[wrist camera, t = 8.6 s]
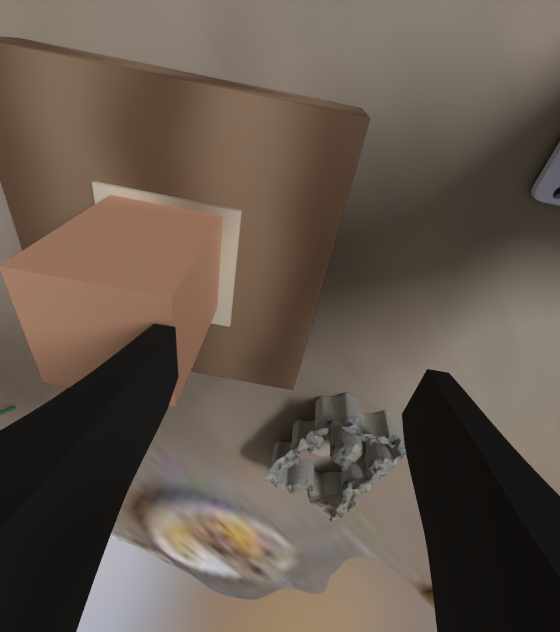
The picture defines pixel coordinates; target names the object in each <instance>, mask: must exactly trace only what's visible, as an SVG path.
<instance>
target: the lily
mask: <svg viewBox="0 0 560 632" xmlns="http://www.w3.org/2000/svg"><path fill="white" fill-rule="evenodd" d="M14 409H16V407H15V406H13V407H10V408H7V409H5V410H2V411H0V415H1V414H4V413H6V412H9V411H12V410H14Z"/></svg>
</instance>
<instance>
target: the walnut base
mask: <svg viewBox="0 0 560 632" xmlns="http://www.w3.org/2000/svg"><path fill="white" fill-rule="evenodd" d="M369 121H370V118H369V116H368V115H367V114H366V113H365V112H364V110H363V109H362V108H358V107H353V106H348V105H343V104H338V103H333V102H328V101H323V100H319V99H314V98H309V97H304V96H299V95H294V94H289V93H284V92H279V91H275V90H270V89H265V88H260V87H255V86H250V85H245V84H240V83H235V82H231V81H226V80H221V79H216V78H211V77H206V76H201V75H196V74H192V73H187V72H182V71H177V70H172V69H167V68H162V67H157V66H152V65H148V64H143V63H138V62H133V61H128V60H123V59H118V58H113V57H108V56H104V55H99V54H94V53H89V52H84V51H79V50H74V49H69V48H64V47H60V46H55V45H50V44H45V43H40V42H35V41H30V40H25V39H20V38H12V37H0V181H1V184H2V187H3V190H4V193H5V197H6V200H7V203H8V206H9V209H10V212H11V215H12V219H13V222H14V225H15V228H16V231H17V234H18V237H19V240H20V244H21V247H22V250H25V249H26V248H28V247H29V246H31V245H32V244H34V243H35V242H37V241H39V240H40V239H42V238H43V237H45V236H46V235H48V234H50V233H51V232H53V231H54V230H56V229H57V228H59V227H61V226H62V225H64V224H65V223H67V222H68V221H70V220H71V219H73V218H75V217H76V216H78V215H79V214H81V213H82V212H84V211H86V210H87V209H89V208H90V207H92V206H93V205H95V204H97V203H98V202H100V201H101V200H103V199H104V198H106V197H108V196H109V195H114V196H120V197H125V198H130V199H135V200H140V201H146V202H151V203H156V204H161V205H166V206H172V207H177V208H182V209H187V210H193V211H198V212H203V213H208V214H213V215H219V216H223V227H222V243H221V259H220V276H219V292H218V307H217V310H216V312H215V315H214V317H213V319H212V322H211V324H210V326H209V329H208V331H207V334H206V336H205V338H204V341H203V343H202V345H201V348H200V350H199V353H198V355H197V357H196V360H195V362H194V365H193V367H192V369H191V371H193V372H198V373H203V374H209V375H214V376H220V377H225V378H230V379H236V380H241V381H246V382H252V383H257V384H262V385H268V386H273V387H279V388H284V389H289V390H293V389H294V386H295V382H296V379H297V375H298V371H299V368H300V364H301V361H302V357H303V354H304V350H305V347H306V343H307V340H308V336H309V333H310V329H311V326H312V322H313V319H314V315H315V311H316V308H317V304H318V301H319V297H320V294H321V290H322V287H323V283H324V280H325V276H326V273H327V269H328V266H329V262H330V259H331V255H332V251H333V248H334V244H335V241H336V237H337V234H338V230H339V227H340V223H341V220H342V216H343V213H344V209H345V206H346V202H347V199H348V195H349V191H350V188H351V184H352V181H353V177H354V174H355V170H356V167H357V163H358V160H359V156H360V153H361V149H362V146H363V142H364V139H365V135H366V131H367V128H368V124H369Z"/></svg>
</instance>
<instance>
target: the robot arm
mask: <svg viewBox="0 0 560 632" xmlns="http://www.w3.org/2000/svg"><path fill="white" fill-rule="evenodd" d="M559 187H560V142H559V143H558V145H557V147H556V148H555V150H554V152H553V153H552V155H551V157H550V159H549V160H548V162H547V164H546V165H545V167H544V169H543V170H542V172H541V174H540V175H539V177H538V179H537V180H536V182H535V184H534V185H533V188H532V190H531V195H532V196H533V198H534V199H536V200H538V201H540V202H544V203H549V204H554V205H559V206H560V193H559V194H558V195H556V196H553V193H554V191H555V190H556V189H557V188H559ZM178 377H179V374H178V358H177V342H176V327H173V326H167V325H161V324H155V323H154V324H153V325H151V326H150V327H149V328H147V329H146V330H145V331H144V332H142V333H141V334H140V335H139V336H137V337H136V338H135V339H134V340H132V341H131V342H130V343H129V344H127V345H126V346H125V347H123V348H122V349H121V350H120V351H118V352H117V353H116V354H114V355H113V356H112V357H111V358H109V359H108V360H107V361H105V362H104V363H103V364H101V365H100V366H99V367H97V368H96V369H95V370H93V371H92V372H91V373H89V374H88V375H86V376H85V377H84V378H82V379H81V380H79V381H78V382H76V383H75V384H73V385H72V386H71V387H69V388H68V389H66V390H65V391H63V392H62V393H60V394H59V395H57V396H56V397H54V398H53V399H51V400H50V401H48V402H47V403H45V404H44V405H42V406H40V407H39V408H37V409H36V410H34V411H32V412H31V413H29V414H28V415H26V416H24V417H22V418H21V419H19V420H17V421H16V422H14V423H12V424H11V425H9V426H7V427H6V428H4V429H2V430H0V632H76V630H77V628H78V625H79V622H80V619H81V616H82V613H83V610H84V607H85V604H86V601H87V599H88V596H89V593H90V590H91V587H92V584H93V581H94V578H95V575H96V573H97V570H98V567H99V565H100V562H101V559H102V556H103V554H104V551H105V548H106V545H107V543H108V540H109V537H110V535H111V532H112V529H113V527H114V524H115V522H116V519H117V516H118V514H119V511H120V509H121V506H122V503H123V501H124V498H125V496H126V494H127V491H128V489H129V487H130V485H131V482H132V480H133V478H134V476H135V474H136V472H137V470H138V468H139V466H140V464H141V462H142V460H143V458H144V456H145V454H146V452H147V450H148V448H149V446H150V444H151V442H152V440H153V438H154V436H155V434H156V432H157V430H158V428H159V425H160V423H161V421H162V419H163V417H164V415H165V413H166V411H167V409H168V406H169V403H170V401H171V398H172V395H173V392H174V389H175V386H176V383H177V380H178ZM402 421H403V433H404V442H405V450H406V454H407V459H408V464H409V468H410V473H411V477H412V481H413V486H414V490H415V494H416V499H417V503H418V507H419V512H420V516H421V520H422V525H423V529H424V534H425V539H426V544H427V550H428V558H429V565H430V573H431V580H432V588H433V596H434V605H435V614H436V623H437V631H438V632H560V496H559V495H558V494H557V493H556V492H555V491H554V490H553V489H552V488H551V487H550V486H549V485H548V484H547V483H546V482H545V481H544V480H543V478H542V477H541V476H540V475H539V474H538V473H537V472H536V471H535V470H534V469H533V468H532V467H531V466H530V465H529V464H528V463H527V462H526V461H525V460H524V458H523V457H522V456H521V455H520V454H519V453H518V452H517V451H516V450H515V449H514V448H513V446H512V445H511V444H510V443H509V442H508V441H507V440H506V439H505V437H504V436H503V435H502V434H501V433H500V432H499V431H498V429H497V428H496V427H495V426H494V425H493V424H492V422H491V421H490V420H489V419H488V418H487V417H486V415H485V414H484V413H483V412H482V411H481V410H480V408H479V407H478V406H477V405H476V404H475V403H474V401H473V400H472V399H471V398H470V397H469V395H468V394H467V393H466V392H465V391H464V390H463V388H462V387H461V386H460V385H459V384H458V383H457V381H456V380H455V379H454V378H453V377H452V376H451V375H450V374H449V373H447V372H441V371H435V370H429V369H427V371H426V372H425V374H424V376H423V378H422V379H421V381H420V383H419V385H418V387H417V388H416V390H415V392H414V394H413V395H412V397H411V399H410V401H409V403H408V404H407V406H406V408H405V410H404V411H403V413H402Z"/></svg>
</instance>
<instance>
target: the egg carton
mask: <svg viewBox="0 0 560 632" xmlns="http://www.w3.org/2000/svg"><path fill="white" fill-rule="evenodd" d="M328 428H330V442H329V441H325V440H324V439H323V435H327V434H328ZM361 440H362V441H363V442H366V453H365V454H364V455H362V441H361ZM306 449H308V450H309V452H310V453H311V454H313V455H316V456H328V455H330V456H331V460H332V461H333V462H335V463H336V464H338V465H339V466H340V467H341V469H342V471H341V472H335V471H330V472H326V473H323V474H321V473H318V472H316V471H314V465H313V463H312V462H310V461H308V460H305V459H299V453H301V452H302V450H306ZM404 455H406V450H405V442H404V440H401V439H400V436H399V431H398V427H397V421H396V415H395V414H394V413H391V412H389V411H387V410H384V411H382V412H380V413H376V414H365V413H362V412H360V411H359V410H358V398H357V397H355V396H353V395H350V394H349V393H344V394H342V395H340V396H336V397H328V396H324V395H322V396H321V397H320V398H319V399H318V400H317V401H316V402H315V420H313V421H303V420H298V421H297V422H296V423H295V424H294V425H293V431H292V442H281V441H278V442H276V443H275V445H274V446H273V454H272V462H271V469H270V470H269V472H268V473H267V475H266V476H265V477H264V480H266V481H270V482H271V483H272V484H273V485H274V486H275V487H278V485H282V486H285V487H286V488H287V489H288V490H289V492H290V493H295V486H296V487H299V488H302V489H305V490H307V491H308V497H309V500H310V503H311V504H312V505H313V506H314V507H316V508H318V509H321V510H324V511H325V512H326V513H328V514H330V515H331V518H330V519H329V520H331V521H333V520H336V519H337V517H338V516H339V517H340V518H341V517H342V516H344V514H345V513H346V512H349V511H350V510H351V509H352V508H353V507H354V505H356V503H357V498H358V496H359V495H360V494H362V493H364V492H368V491H369V490H370V489H371V487H372V485H373V484H374V483H375V482H376V481H378V480H379V479H380V478H381V477H382V476H385V475H388V474H389V473H390V471H391V470H392V469H393V468H394V467H395V466H396V465H397V463H398V461H399V460H400V459H402V458H403V456H404Z"/></svg>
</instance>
